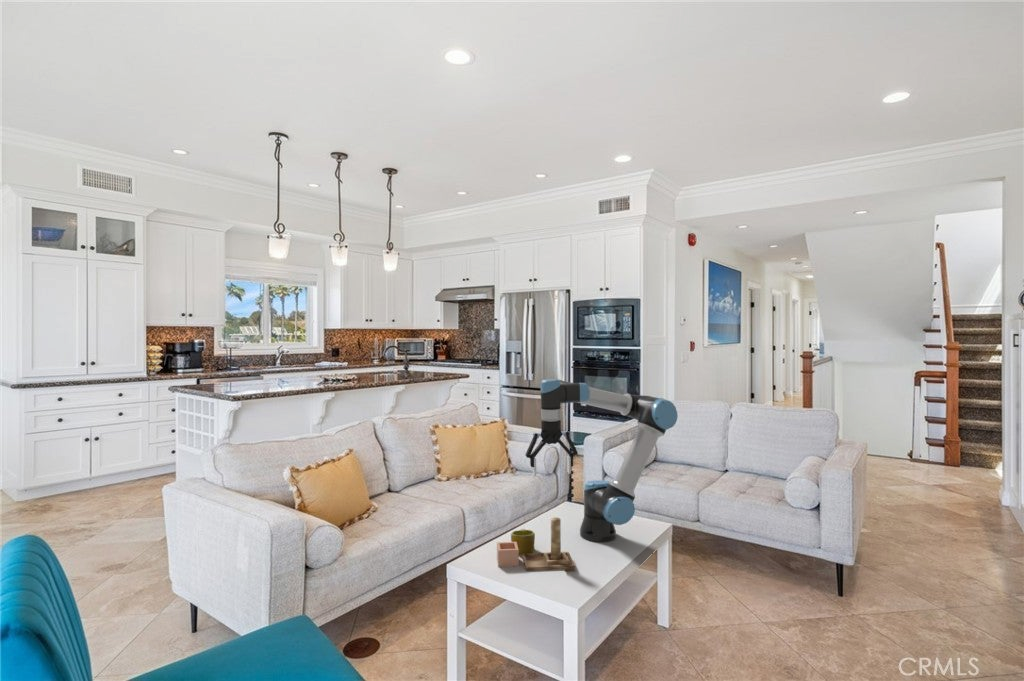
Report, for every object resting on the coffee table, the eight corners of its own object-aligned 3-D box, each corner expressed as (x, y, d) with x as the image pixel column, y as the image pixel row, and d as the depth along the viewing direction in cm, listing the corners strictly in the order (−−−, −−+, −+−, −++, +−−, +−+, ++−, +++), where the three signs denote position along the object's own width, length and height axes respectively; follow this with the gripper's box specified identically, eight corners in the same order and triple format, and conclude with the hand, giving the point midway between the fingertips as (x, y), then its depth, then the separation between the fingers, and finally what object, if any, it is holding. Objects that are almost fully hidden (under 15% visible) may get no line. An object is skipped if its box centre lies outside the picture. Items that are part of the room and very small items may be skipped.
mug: (536, 555, 205) (529, 528, 207) (511, 561, 207) (504, 534, 209) (543, 549, 216) (536, 524, 219) (519, 555, 218) (513, 530, 221)
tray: (568, 557, 207) (568, 549, 207) (575, 571, 195) (575, 562, 195) (522, 559, 206) (522, 551, 205) (526, 573, 194) (526, 564, 194)
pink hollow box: (516, 559, 205) (516, 541, 205) (518, 568, 198) (518, 549, 197) (496, 560, 204) (496, 542, 204) (498, 569, 197) (498, 550, 197)
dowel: (559, 559, 203) (559, 517, 202) (561, 563, 199) (561, 520, 199) (550, 559, 202) (550, 517, 202) (551, 564, 199) (551, 521, 198)
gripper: (579, 416, 213) (580, 469, 214) (517, 419, 209) (518, 473, 210) (585, 419, 206) (585, 474, 206) (520, 422, 202) (521, 478, 202)
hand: (551, 474), depth 208 cm, fingers open, 13 cm apart
